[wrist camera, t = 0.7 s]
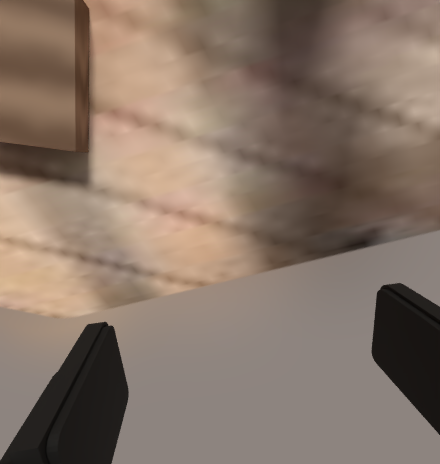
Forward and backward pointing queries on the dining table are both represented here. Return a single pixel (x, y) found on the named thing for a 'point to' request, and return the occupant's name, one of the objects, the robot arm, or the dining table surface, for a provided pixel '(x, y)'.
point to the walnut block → (44, 73)
